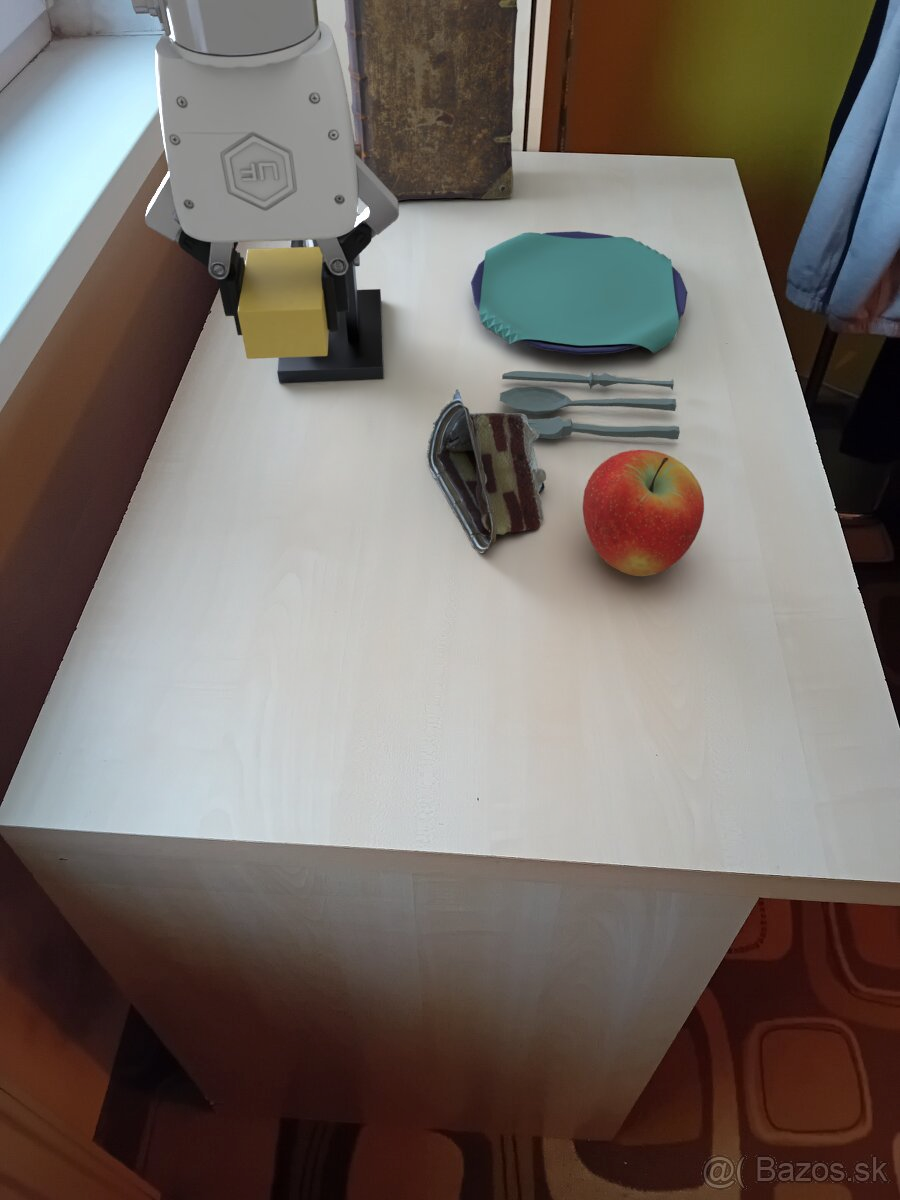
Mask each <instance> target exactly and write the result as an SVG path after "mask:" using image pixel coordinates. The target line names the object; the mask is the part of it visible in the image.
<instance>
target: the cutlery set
mask: <svg viewBox="0 0 900 1200" xmlns="http://www.w3.org/2000/svg"><path fill="white" fill-rule="evenodd" d="M470 285H471V290H472V291H471V292H472V296H473V297H472V298H473V304H474V306H475V307H476V308H477V309H478V311H479V318H480V319H479V320H480V322H481V324H482V326H484V327H485V328H486V329H487V330H491V331H492V332H493V333H494V334H495V335H498V336H499V337H500V338H501V339H503V340H505V341H506V342H507V343H508V344H509V345H510V344H512V343H514V342H517V341H519V342H521V343H524V344H526V345H530V346H533V347H535V348H537V349H540V350H545V351H551V352H558V353H565V354H572V355H593V354H594V355H596V354H597V355H599V354H616V353H619V352H623V351H627V350H632V349H635V348H638V347H643V348H646V349H648V350H649V351H651V352H652V354H656V353H657V352H659V351H661V350H662V349H664V348H665V347H667V346H668V345H669V344H670V343H671V342H672V341H673V340H675V338H676V335H677V334H678V333H677V332H678V330H679V324H680V319H681V318H682V316H683V315H684V314H685V312H686V305H687V298H688V290H687V288H686V285H685V283H684V281H683V278H682V276H681V273H680V272H679V271H678V270H677V269H676V268H675V267H674V266H673V263H672V259H671V258H668V256H666V255H665V254H664V253H660V252H659V251H658V250H656V249H652V247H650V246H649V245H645V244H644V243H643V242H641V240H639V241H638V240H636V239H634V238H633V237H629V236H628V237H627V236H614V235H611V234H603V233H595V232H588V231H587V232H586V231H579V230H578V231H576V230H575V231H555V232H554V231H553V232H543V233H540V232H532V231H531V232H523V233H520V234H518V235H516V236H514V237H512V238H508V239H506V240H504V241H502V242H500V243H498V244H496V245H494V246H493V247H491V248H489V249H487V250H485V253H484V258H483V260H482V261H480V263H479V264H478V265H477V267H476V270H475V272H474V274H473V277H472V279H471V282H470ZM501 379H502V380H512V381H531V382H548V383H549V382H551V383H569V384H570V383H571V384H587V385H588V387H589V390H592V389H593V387H594V386H596V385H600V386H602V387H604V388H605V387H610V386H614V385H618V384H622V385H647V386H656V387H664V388H665V387H666V388H670V389H671V391H673V390H674V386H675V381H674V379H671V380H645V379H638V378H632V377H631V378H630V377H619V376H618V377H617V376H615V375H612V374H609V373H606V372H603V373H601V374H595V373H594V372H593V371H592V370H591V371H590V373H589V375H583V374H574V373H566V372H555V371H554V372H553V371H536V370H535V371H533V370H513V371H508V372H505V373H502V375H501ZM499 402H500V403H503V404H505V405H507V406H509V407H511V408H512V409H514V410H515V411H518V412H522V413H527V414H534V415H540V414H541V415H542V414H552V413H554V412H557V411H559V410H562V409H563V408H567V407H619V408H621V407H622V408H633V409H634V408H635V409H636V408H637V409H649V410H650V409H651V410H658V411H659V410H660V411H669V412H676V408H677V407H678V406H677V398H636V397H635V398H631V397H630V398H629V397H628V398H625V397H622V398H621V397H618V398H617V397H616V398H599V399H593V398H592V399H576V400H575V399H574V400H572V399H571V398H570V397H569V396H568V395H566V394H564V393H562V392H561V391H558V390H557V389H555V388H548V387H542V386H537V385H531V386H530V385H529V386H516V387H512V388H510V389H507V390H505V391H502V392H500V393H499ZM528 425H529V426H530V427H532V428H534V429H536V430H537V431H538V432H539V437H538V438H541V439H547V440H548V439H549V440H550V439H551V440H559V439H561V438H566V437H571V435H572V433H578V434H579V433H580V434H587V435H593V436H600V437H611V438H653V439H654V438H655V439H667V440H679V437H680V433H681V430H680V426H677V425H669V426H668V425H641V426H640V425H638V426H614V425H597V424H590V423H580V422H579V423H578V422H577V423H576V422H573V420H572V418H569V419H566V420H563V419H562V418H561V416H559V415H557V416H555V417H550V418H531V419H529V418H528Z"/></svg>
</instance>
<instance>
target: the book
mask: <svg viewBox="0 0 900 1200" xmlns="http://www.w3.org/2000/svg"><path fill="white" fill-rule="evenodd" d="M518 11H519V9H518V0H344V12H345V13H344V15H345V22H344V30H345V33H346V40H347V52H348V67H347V70H348V74H349V78H350V87H351V88H350V89H351V102H352V103H351V107H350V108H351V113H352V115H353V125H354V126H353V127H354V136H355V137H354V138H355V140H354V143H355V144H361V149H362V159H361V160H362V161H363V162H364V163H365V164H366V165H367V167H368V168H369V169H370V170H371V171H372V172H373V173H374V174H375V175H376V176H377V177H378V178H379V180H380V181H381V182H382V183H383V184H384V185H385V186H386V187H387V188H388V189H389V190H390V192H391V193H392V194H393V195H394V196H395V197H396V198H397V200H398V202H399V201H404V200H405V201H406V200H422V199H423V200H424V199H425V200H427V199H444V198H445V199H457V198H463V199H464V198H465V199H482V200H485V199H486V200H488V199H489V200H491V199H506V198H511V196H512V195H513V193H514V172H513V155H512V147H513V145H512V144H513V143H512V134H513V131H514V126H513V124H514V123H513V122H514V120H513V117H514V116H513V111H514V110H513V109H514V97H515V96H514V95H515V87H514V86H515V83H514V82H515V80H514V79H515V54H516V53H515V52H516V36H517V35H516V34H517V20H518Z"/></svg>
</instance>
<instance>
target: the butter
mask: <svg viewBox="0 0 900 1200" xmlns="http://www.w3.org/2000/svg"><path fill="white" fill-rule="evenodd" d="M246 250H247V251H246V256H245V261H244V262H245V270H244V277H243V283H242V289H241V294H240V300H239V306H238V317H239V322H240V326H241V331H242V335H241V336H242V340H243V341H242V342H243V346H244V351H245V355H246V358H247V360H251V359H278V358H284V357H312V356H327V355H328V336H329V330H328V327H327V319H326V311H325V303H324V294H323V290H322V282H321V273H322V257H323V255H322V253H321V250H320V248H319V247H308V246H306V247H296V248H290V247H269V248H266V247H265V248H247V249H246Z"/></svg>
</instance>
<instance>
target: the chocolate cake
mask: <svg viewBox="0 0 900 1200" xmlns="http://www.w3.org/2000/svg"><path fill="white" fill-rule="evenodd" d="M528 420H529V418H528V417H527V415H526V414H524V413H523V412H522V413H521V412H515V413H512V412H473V413H471V412H470V410H469V407H467V406H465V405H464V402H463V399H462V395H461V393H460V391H459V389H456V390H455V392H454V394H453V395H452V400H451V401H450V402H449V403H446V404H445V406H444V407H443V408H442V409H441V410H440V412H439V416H438V417H437V418H436V420H435V421H434V422H433V423H432V424H433V427H432V431H431V433H430V436H429V439H428V442H427V443H428V445H427V452H426V459H427V466H428V468H429V471H430V472H431V473H432V479H434V480H435V479H436V481H437V483H436V484H437V485H438V487H439V489H440V490H441V491H442V493H443V495H444V496H445V499H446V500H447V503H448V505H449V506H450V507H451V510H452V513H453V514H454V516H456V517H457V519H458V520H459V523H460V525H461V527H462V530H464V531H465V533H466V536H467V538H468V540H469V542H470V544H471V547H472V548H473V549H475V550H476V552H478V553H481V554H482V553H485V551H487V549H489V547H491V546H493V545H494V544H495V542H496V539H497V535H503V536H505V534H507V533H511V534H516V533H519V532H524V531H529V530H530V531H532V530H538V529H539V528H540V527H541V524H542V522H543V521H544V519H545V518H544V512H543V504H542V497H541V495H540V493H541V492H543V491H544V489H545V481H546V480H547V473H546V471H545V469H543V468H538V462H537V458H536V454H535V448H534V442H535V441H536V440H538V439H539V438H540V437H539V432H538V431H537V430H536V429H534V428H532V427H530V426H529V425H528Z"/></svg>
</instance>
